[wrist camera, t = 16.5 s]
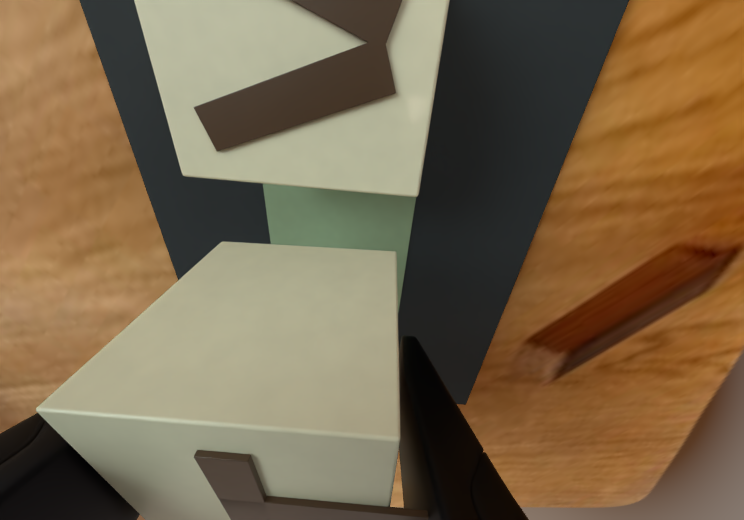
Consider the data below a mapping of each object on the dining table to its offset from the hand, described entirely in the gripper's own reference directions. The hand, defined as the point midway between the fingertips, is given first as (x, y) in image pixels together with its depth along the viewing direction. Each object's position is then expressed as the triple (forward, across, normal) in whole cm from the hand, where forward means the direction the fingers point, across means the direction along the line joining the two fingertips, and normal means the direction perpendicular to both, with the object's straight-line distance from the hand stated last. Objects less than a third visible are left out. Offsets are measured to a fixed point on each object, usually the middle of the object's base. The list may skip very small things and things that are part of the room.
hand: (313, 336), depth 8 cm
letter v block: (+5, 0, -7) cm, 8 cm away
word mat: (+5, 0, 0) cm, 5 cm away
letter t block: (+1, 0, 0) cm, 1 cm away
